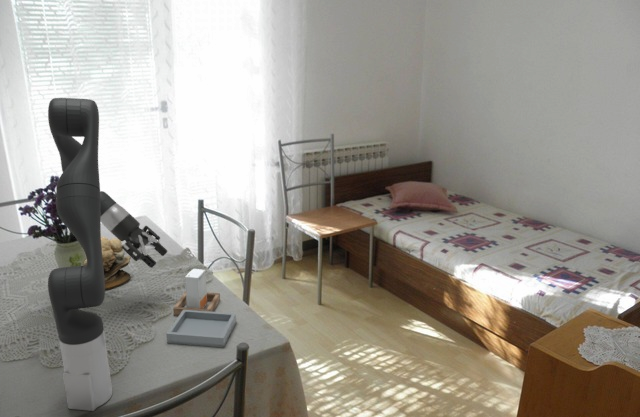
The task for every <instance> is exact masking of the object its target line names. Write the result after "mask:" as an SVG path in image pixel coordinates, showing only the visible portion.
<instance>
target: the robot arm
mask: <svg viewBox="0 0 640 417" xmlns="http://www.w3.org/2000/svg"><path fill="white" fill-rule="evenodd" d="M47 115H48V116H47V119H48V125H49V129H50V130H49V131H50V133H51V135H52V138H53V142H54V143H55V147H56V148H57V152H58V153H59V157H60V164H61V171H62V173H61V174H60V176H59V178H58V180H57V182H56V190H55V191H56V196H55V198H56V200H55V201H56V202H55V203H56V206H55V207H56V212H57V216H58V217H59V219H60V220H61V222H62V223H63V224H64V226H65V227H66V228H67V229H68V230H69V232H70V233H71V234H72V235H73V237H75V239H76V240H77V242H78V243H79V245H80V246H81V249H82V248H83V250H84V252H85V255H86V258H87V265H84V266H77V265H76V266H64V267H56V268H54V269H52V270H51V271H50V273H49V274H48V278H47V289H48V296H49V301H50V305H51V309H52V312H53V316H54V320H55V328H56V330H57V335H58V336H57V337H58V340H59V341H58V342H59V346H60V347H59V348H60V353H61V360H62V365H63V370H64V372H63V373H62V380H63V386H64V390H65V395H66V396H65V398H66V402H67V403H66V404H67V407H68V409H70V410H80V411H89V412H94V411H95V410H96V409H97V408H98V407H100V406H102V405H105V404H106V403H107V402H108V401H109V400H110V399H111V397H112V395H113V386H112V378H111V371H110V365H109V364H110V363H109V359H108V358H109V356H108V350H107V344H106V335H105V329H104V321H103V318H102V317H101V316H100V315H99V314H96V313H95V312H91V311H86V310H82V309H89V308H95V307H99V306H101V305H102V304H103V303H104V301H105V296H106V291H105V279H104V268H103V258H102V247H101V237H102V236H101V234H102V233H101V229H102V228H101V226H102V225H103V226H104V227H105V228H106V229H107V231H109V232H110V233H111V234H113V236H114V237H115V238H116V239H119V240H120V241H121V242H124V241H125V242H124V244H122V245H123V246H122V248H123V250H124V251H125V252H126V254H127V255H128V256H130V257H131V258H132V259H133V260H134V261H135V262H137V261H142V262H143V263H145V265H147V266H148V267H149V268H150V269H151V268H153V267H155V266H156V265H157V262H156V260H155V259H154V258H152V256H150V255H149V254H148V253H147V251H146V247H152V248H153V249H154V250H155V251H156V252H157V253H159V255H161V256H162V257H163V256H165V255H166V254H167V253H168V250H167V249H166V247H165V246H163V245H162V244H161V243H160V240H161V237H160V236H159V235H158V234H157V233H156V232H155V231H154V230H152V229H151V228H150V227H149V226H148V225H145V226H144V227H142V229H141V228H140V226H141V223H140V222H139V221H138V220H137V219H136V218H135V217H134V216H133V215H132V214H130V213H129V212H128V211H127V209H125V208H124V207H123V206H122V205H120V204H118V202H117V201H115V200H114V199H113V198H112V197H111V196H110V195H109V194H108V193H106V192H105V191H101V184H100V170H99V136H100V135H99V134H100V114H99V108H98V105H97V102H96V101H95V100H94V99H88V98H73V97H68V98H67V97H55V98H51V100H50V101H49V104H48V110H47ZM77 137H78V138H79V137H80V138H83V141H82V143H80V142H79V141H78V140H77V139H75V138H77ZM101 224H102V225H101Z"/></svg>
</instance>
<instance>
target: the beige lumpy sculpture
mask: <svg viewBox="0 0 640 417" xmlns="http://www.w3.org/2000/svg"><path fill="white" fill-rule="evenodd" d="M123 245H124V244H122V241H120V240H119V239H118V238H111V239H110V240H109V239H108V238H107V237H106V236H101V247H102V258H103V268H104V279H105V292H106V291H109V290H113V289H117V288H119V287H122V286H124V285H125V284H127V283H128V282H130V281H131V279H132V278H131V277H132V276H131V273H129V272H127V271H126V270H124V269H123V268H125V267H127V266H129V264H130V262H131V258H132V257H131V256H130V255H127V256H125V252H126V251H125V250H124V249H123V248H122V246H123ZM84 265H87V258H86V260H85V261H84V264H83V266H84Z"/></svg>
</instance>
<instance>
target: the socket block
mask: <svg viewBox="0 0 640 417" xmlns="http://www.w3.org/2000/svg"><path fill="white" fill-rule="evenodd" d="M207 302H210V303H209V305H208V306H207V308H203V309H198V308H187V307H185V306H186V305H187V301H186V291H184V293H183V294H182V296H181V297H180V299H179V300H178V301H177V302H176V304H175V305H174V307H173V308H172V309H173V316H174V317H178V316H179V315H180V313H181V312H182V311H183V310H196V311H210V312H215V310H216V308H217V307H218V305H219V303H220V302H221V295H220V292H219V293H218V292H207Z"/></svg>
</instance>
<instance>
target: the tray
mask: <svg viewBox="0 0 640 417" xmlns="http://www.w3.org/2000/svg"><path fill="white" fill-rule="evenodd" d="M236 324H237V313H236V312H223V311H222V312H221V311H214V312H210V311H196V310H183V311H182V312H181V313H180V315H179V316H177V318H176V319H175V321H174V322H173V324H172V325H171V326H170V327H169V329H168V330H167V332H166V343H167V344H172V345H173V344H175V345H185V346H186V345H187V346H199V347H213V348H225V346H226V344H227V342H228V340H229V338H230V337H231V334H232V332H233V330H234V327H235V326H236Z"/></svg>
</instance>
